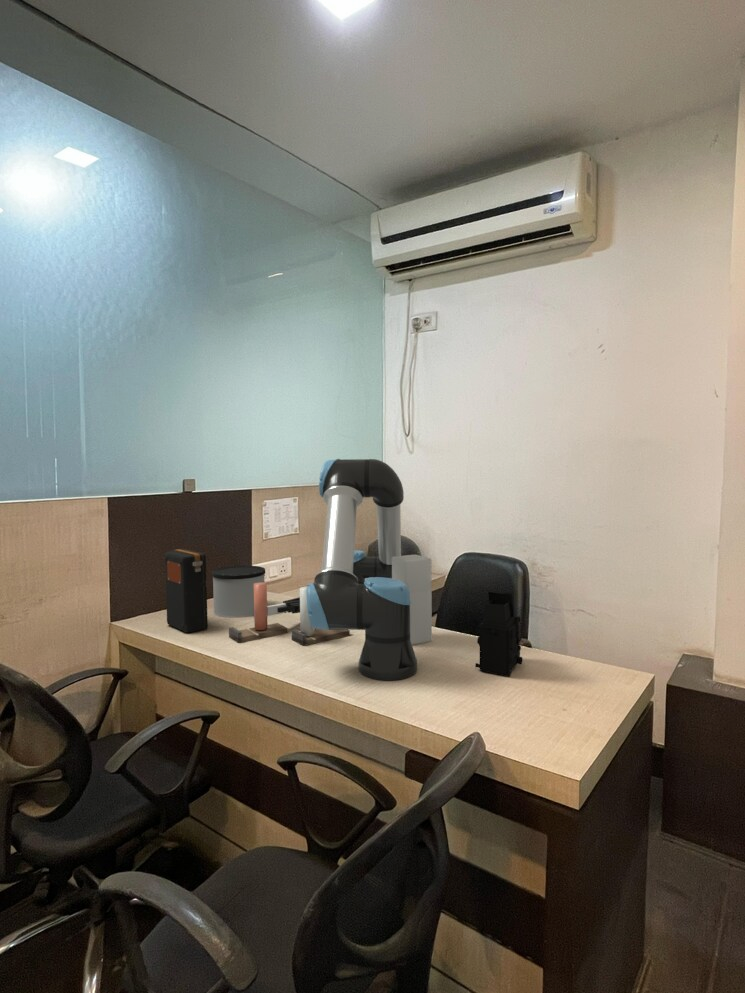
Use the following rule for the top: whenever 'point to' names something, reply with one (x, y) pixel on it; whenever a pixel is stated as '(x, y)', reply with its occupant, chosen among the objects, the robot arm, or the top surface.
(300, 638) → the brown wooden board
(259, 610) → the terracotta plug
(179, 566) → the voltmeter
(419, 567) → the tall white carton
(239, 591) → the container
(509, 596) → the camera
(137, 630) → the top surface
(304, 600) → the grey plug
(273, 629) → the brown base
